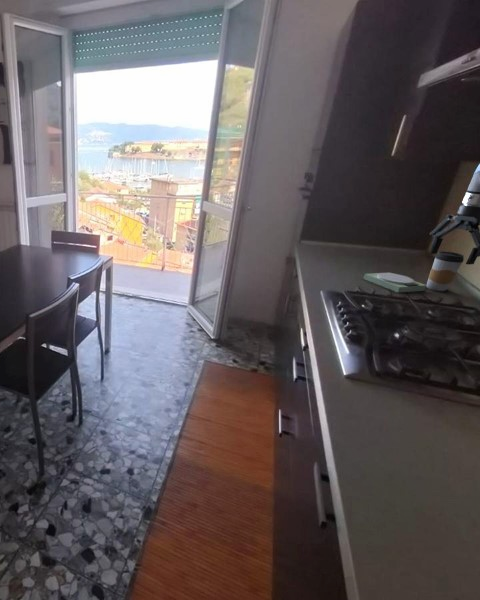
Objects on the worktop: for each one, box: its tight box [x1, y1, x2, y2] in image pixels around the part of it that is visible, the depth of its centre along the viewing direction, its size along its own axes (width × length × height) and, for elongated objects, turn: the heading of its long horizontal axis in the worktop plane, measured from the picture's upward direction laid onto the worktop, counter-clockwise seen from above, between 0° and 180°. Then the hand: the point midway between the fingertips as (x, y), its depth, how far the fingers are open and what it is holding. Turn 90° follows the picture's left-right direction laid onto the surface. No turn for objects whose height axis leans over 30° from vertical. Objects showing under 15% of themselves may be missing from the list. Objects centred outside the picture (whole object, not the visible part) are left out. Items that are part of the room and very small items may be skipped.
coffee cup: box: [426, 251, 465, 292], centre depth 146 cm, size 8×8×15 cm
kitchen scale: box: [363, 271, 427, 294], centre depth 152 cm, size 16×13×3 cm
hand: (450, 258), depth 143 cm, fingers open, 13 cm apart
